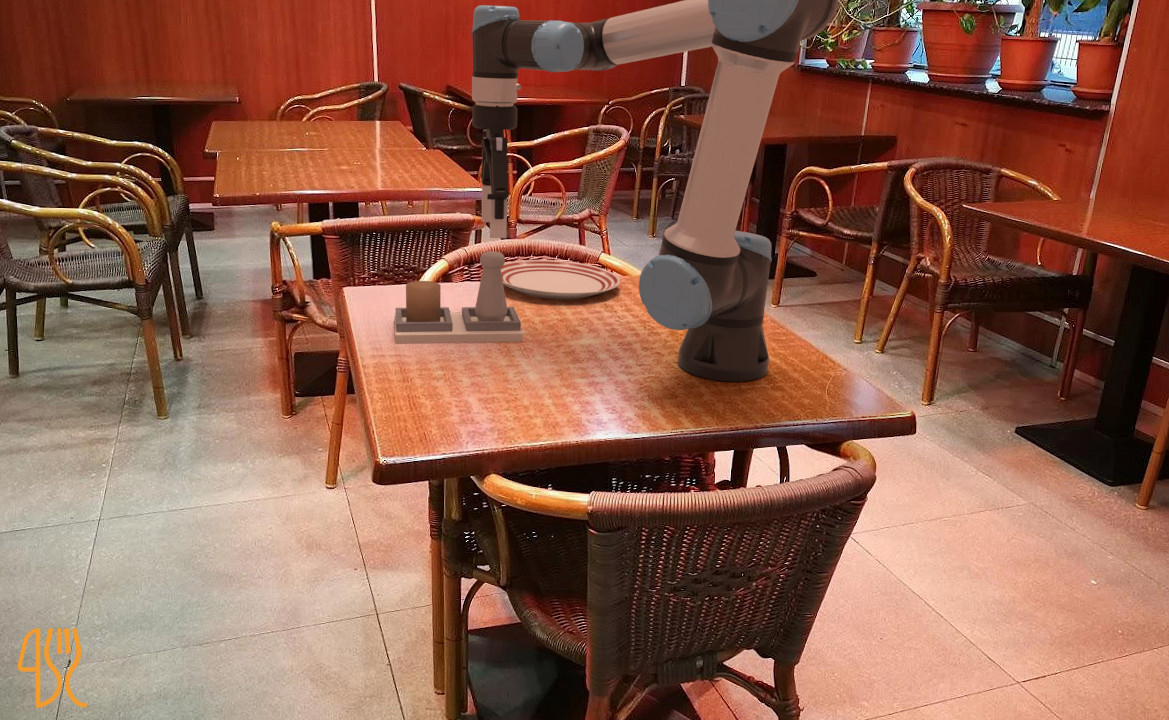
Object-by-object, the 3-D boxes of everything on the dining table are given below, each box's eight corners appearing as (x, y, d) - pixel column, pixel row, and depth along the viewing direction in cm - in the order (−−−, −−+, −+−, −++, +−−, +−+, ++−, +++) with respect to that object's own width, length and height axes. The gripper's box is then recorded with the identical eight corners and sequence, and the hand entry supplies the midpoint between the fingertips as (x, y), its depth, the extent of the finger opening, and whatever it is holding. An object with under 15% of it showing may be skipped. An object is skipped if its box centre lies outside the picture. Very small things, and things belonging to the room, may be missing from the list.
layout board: (522, 341, 167) (524, 295, 164) (395, 343, 162) (394, 295, 159) (513, 319, 179) (514, 275, 176) (394, 320, 174) (393, 275, 171)
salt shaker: (470, 319, 172) (471, 249, 168) (500, 316, 175) (502, 247, 170) (480, 328, 167) (482, 257, 163) (511, 326, 170) (513, 255, 165)
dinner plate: (595, 270, 218) (596, 256, 217) (638, 304, 194) (639, 288, 193) (478, 274, 210) (478, 259, 209) (508, 309, 186) (508, 293, 184)
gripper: (527, 111, 148) (524, 244, 155) (507, 98, 171) (506, 215, 178) (479, 109, 146) (478, 245, 153) (466, 97, 169) (465, 215, 176)
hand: (493, 229), depth 165 cm, fingers open, 13 cm apart
